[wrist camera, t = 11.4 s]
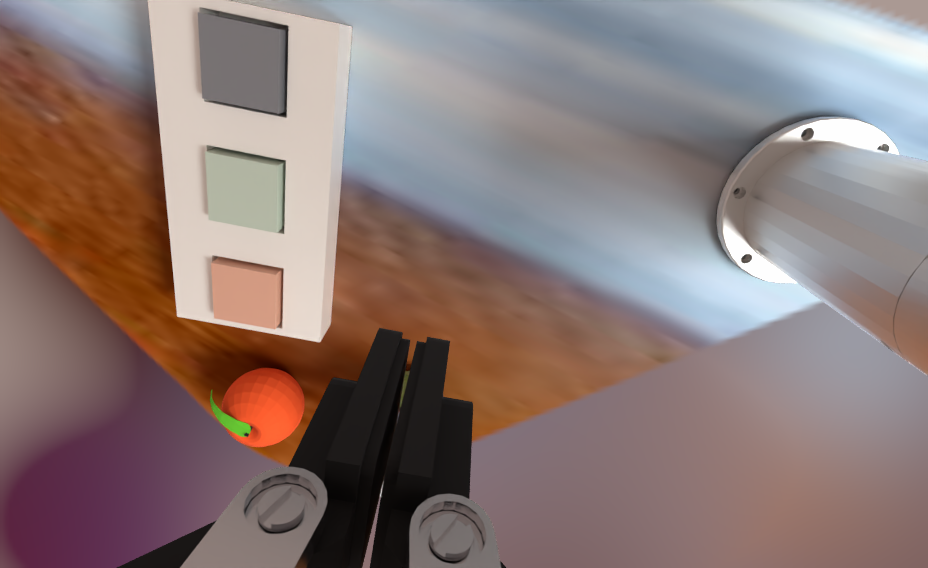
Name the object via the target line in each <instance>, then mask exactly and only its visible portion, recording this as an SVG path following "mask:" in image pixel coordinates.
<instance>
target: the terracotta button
mask: <svg viewBox="0 0 928 568" xmlns="http://www.w3.org/2000/svg"><path fill="white" fill-rule="evenodd" d="M211 272H212V290H213V309H214V318H215V319H220V320H226V321H231V322H237V323H242V324H248V325H253V326H259V327H264V328H270V329H276V328H277V327H278V325H279V324H280V323H281V322H282V320H283V275H284V268H278V267H273V266H268V265H262V264H257V263H252V262H246V261H241V260H236V259H230V258H225V257H218V258H217V259H216V260H214V261H213V262H212V263H211Z"/></svg>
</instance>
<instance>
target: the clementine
mask: <svg viewBox="0 0 928 568" xmlns="http://www.w3.org/2000/svg"><path fill="white" fill-rule="evenodd" d="M210 403H211V407H212V410H213V412H214V414H215V415H216V417H217V418H218V420H219V421H220V422H221V423H222V424H223V425H224V426H225V428H226V430H227V431H228V433H229V434H230V435H231V436H232V437H233V438H234V439H235V440H237V441H239V442H240V443H242V444H245V445H248V446H253V447H265V446H269V445H273V444H276V443H278V442H280V441H282V440H284V439H285V438H286V437H288V436H289V435H290V434H291V433H292V432H293V431H294V430H295V429H296V427H297V426H298V425H299V423H300V421H301V418H302V415H303V412H304V404H305V402H304V395H303V391H302V389H301V387H300V385H299V384H298V382H297V381H296V380H295V379H294V378H293V377H292V376H291V375H289V374H288V373H286V372H284V371H282V370H279V369H274V368H259V369H255V370H252V371H250V372H247V373H245V374H244V375H242V376H240V377H239V378H238V379H237V380H236V381H234V382H233V384H232V385H231V386H230V387H229V389H228V390H227V392H226V394H225V396H224V399H223V402H222V409H221V410H220V409H219V408H218V407H217V406H216V405H215V404H214V401H213V399H212V390H211V396H210Z"/></svg>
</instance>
